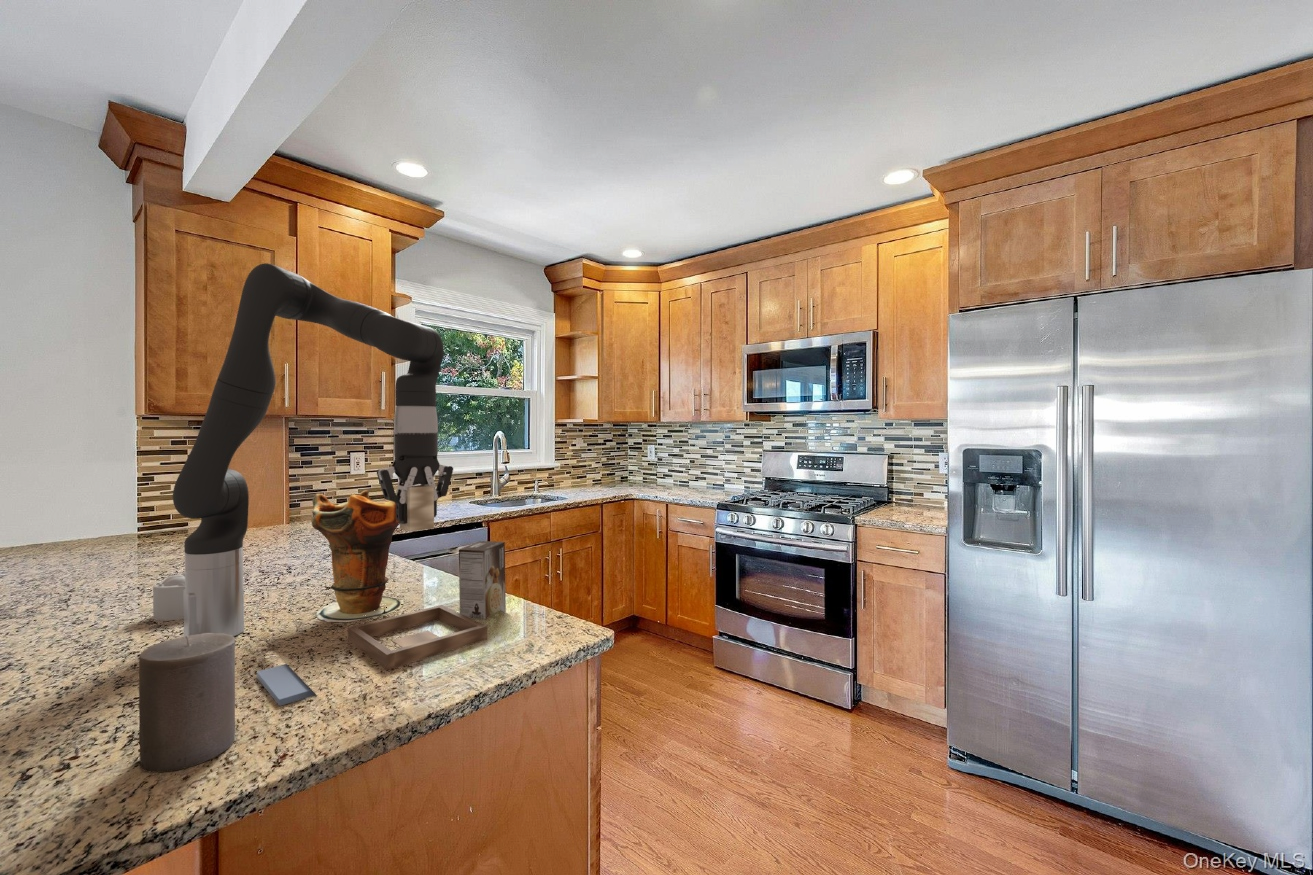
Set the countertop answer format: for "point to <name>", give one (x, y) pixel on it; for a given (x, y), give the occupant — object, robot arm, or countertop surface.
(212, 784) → the countertop surface
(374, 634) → the brown wooden square frame
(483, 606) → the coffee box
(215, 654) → the pillar candle
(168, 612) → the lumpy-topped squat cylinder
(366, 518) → the decorative vase
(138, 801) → the countertop surface
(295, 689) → the pad
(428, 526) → the maple block
